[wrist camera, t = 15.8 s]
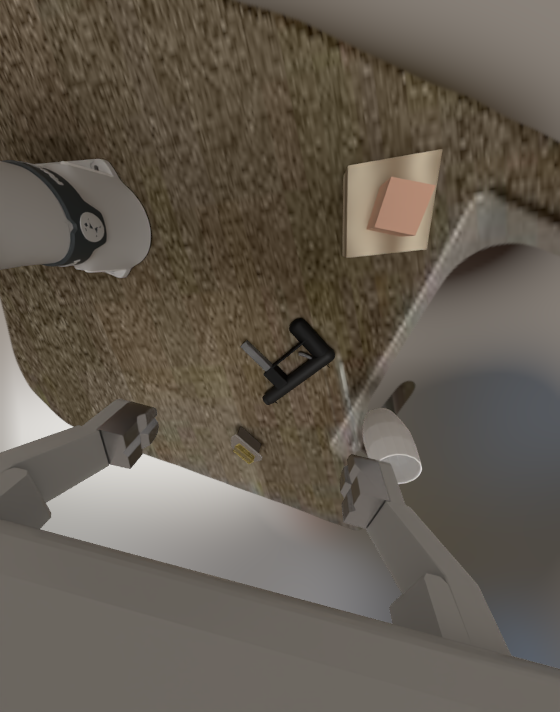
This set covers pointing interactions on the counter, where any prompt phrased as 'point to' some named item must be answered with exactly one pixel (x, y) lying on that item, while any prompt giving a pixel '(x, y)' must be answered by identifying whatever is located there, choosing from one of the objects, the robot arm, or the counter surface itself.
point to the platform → (246, 446)
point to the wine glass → (391, 444)
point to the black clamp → (272, 371)
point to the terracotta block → (400, 207)
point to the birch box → (362, 194)
